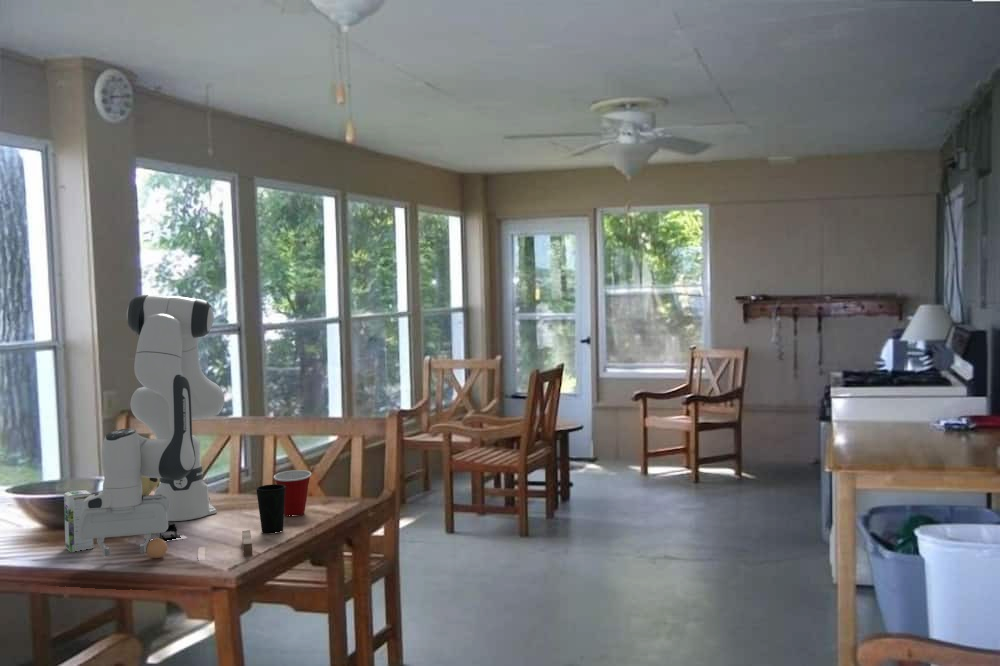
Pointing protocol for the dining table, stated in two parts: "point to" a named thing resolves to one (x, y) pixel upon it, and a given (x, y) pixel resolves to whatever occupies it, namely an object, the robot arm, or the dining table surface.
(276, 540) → the dining table surface
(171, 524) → the black rectangular container
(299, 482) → the plastic cup
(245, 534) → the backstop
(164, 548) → the ball
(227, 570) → the dining table surface
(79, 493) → the syrup box
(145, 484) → the pale yellow round toy
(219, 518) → the dining table surface
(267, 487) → the cup
